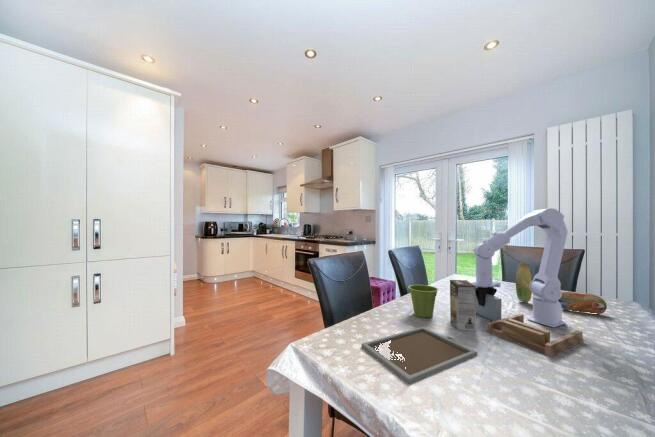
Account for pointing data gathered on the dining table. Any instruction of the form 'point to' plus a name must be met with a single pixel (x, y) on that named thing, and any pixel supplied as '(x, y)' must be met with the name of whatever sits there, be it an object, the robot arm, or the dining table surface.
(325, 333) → the dining table surface
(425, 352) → the picture frame
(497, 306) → the blue grey rectangular slab
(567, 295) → the tin
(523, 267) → the vegetable
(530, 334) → the offcut
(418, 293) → the plant pot
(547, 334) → the offcut
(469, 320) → the coffee box
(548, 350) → the rack
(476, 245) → the robot arm
